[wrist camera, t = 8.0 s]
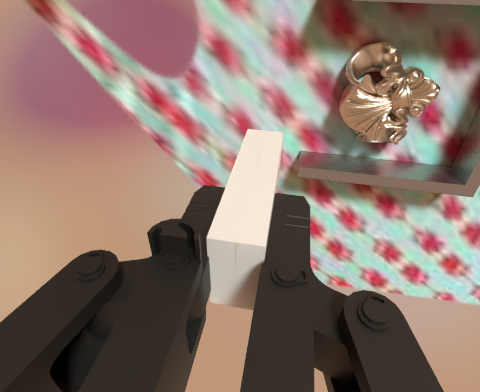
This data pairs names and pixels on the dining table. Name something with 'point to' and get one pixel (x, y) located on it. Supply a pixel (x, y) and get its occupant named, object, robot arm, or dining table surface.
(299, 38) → the dining table surface
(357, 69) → the ornament
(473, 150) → the frame
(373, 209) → the dining table surface
